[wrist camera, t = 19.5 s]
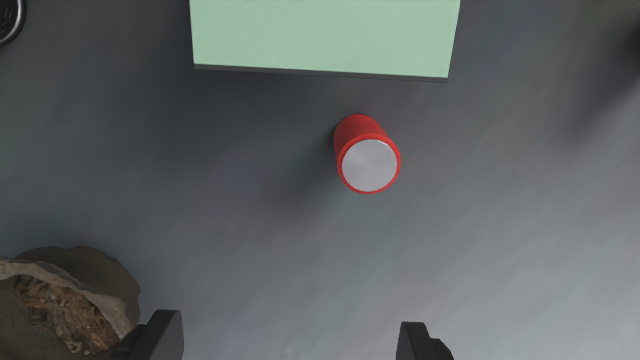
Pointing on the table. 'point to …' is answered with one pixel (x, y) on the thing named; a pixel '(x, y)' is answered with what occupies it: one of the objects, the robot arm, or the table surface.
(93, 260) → the stone bowl
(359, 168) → the red can
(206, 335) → the table surface
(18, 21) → the robot arm
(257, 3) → the mint green cubby
